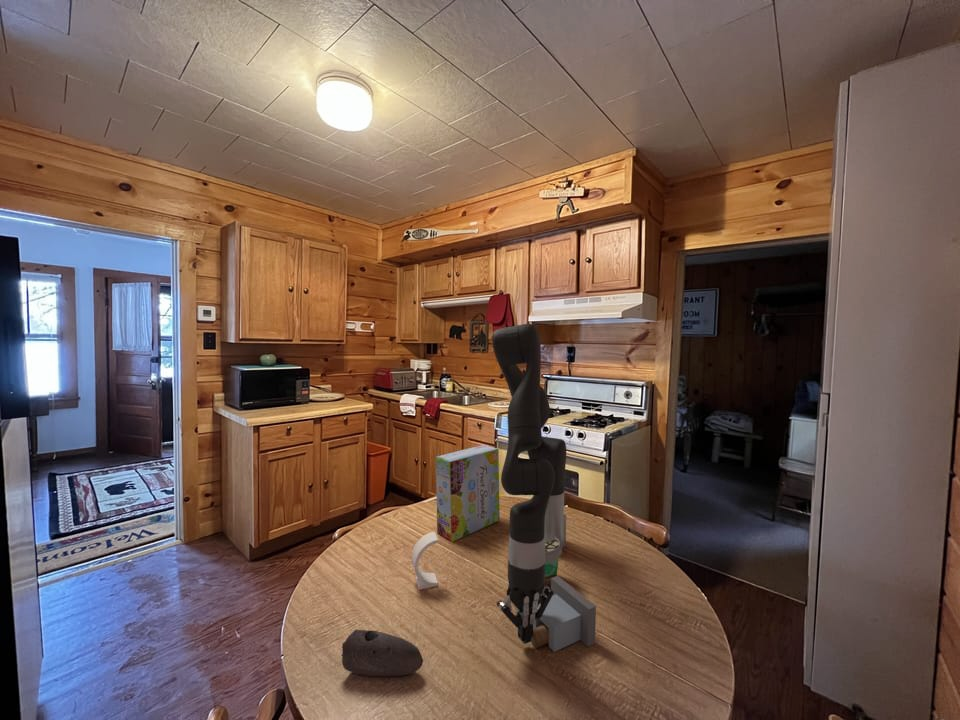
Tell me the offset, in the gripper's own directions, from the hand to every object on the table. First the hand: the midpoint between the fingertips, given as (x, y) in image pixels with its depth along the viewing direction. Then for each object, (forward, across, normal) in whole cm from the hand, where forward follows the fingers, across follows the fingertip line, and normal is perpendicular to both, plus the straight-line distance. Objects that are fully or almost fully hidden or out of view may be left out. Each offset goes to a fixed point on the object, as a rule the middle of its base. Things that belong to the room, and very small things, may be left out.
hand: (525, 640), depth 80 cm
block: (+2, -8, 0) cm, 8 cm away
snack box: (+2, -14, -52) cm, 54 cm away
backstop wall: (+2, -12, 0) cm, 12 cm away
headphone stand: (+2, +10, -30) cm, 32 cm away
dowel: (+1, -6, 0) cm, 6 cm away
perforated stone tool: (+2, +27, -8) cm, 28 cm away
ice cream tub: (+2, -17, -15) cm, 23 cm away
